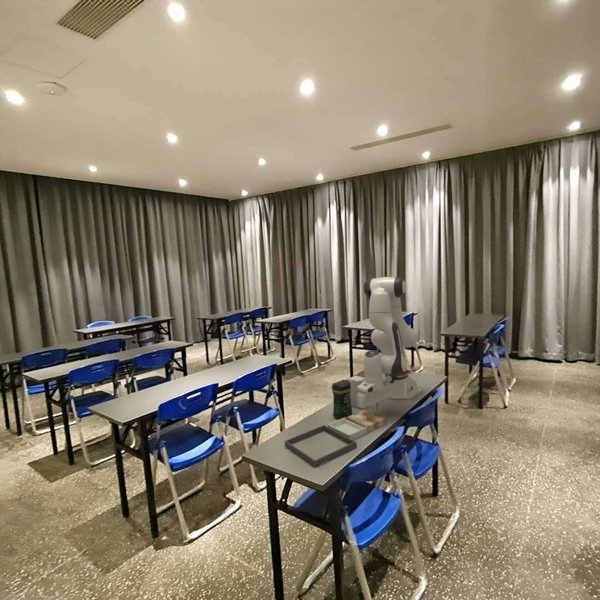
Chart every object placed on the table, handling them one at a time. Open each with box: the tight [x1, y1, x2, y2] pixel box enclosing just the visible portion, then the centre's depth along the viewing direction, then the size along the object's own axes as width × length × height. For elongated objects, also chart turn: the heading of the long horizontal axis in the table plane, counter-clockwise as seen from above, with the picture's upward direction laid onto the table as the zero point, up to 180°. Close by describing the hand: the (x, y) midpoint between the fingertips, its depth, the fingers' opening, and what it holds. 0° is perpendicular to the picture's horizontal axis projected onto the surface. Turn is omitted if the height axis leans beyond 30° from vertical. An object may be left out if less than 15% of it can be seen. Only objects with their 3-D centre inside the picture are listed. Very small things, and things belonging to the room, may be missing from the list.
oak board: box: [346, 409, 388, 434], centre depth 174 cm, size 13×14×3 cm
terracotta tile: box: [362, 410, 374, 420], centre depth 174 cm, size 4×4×2 cm
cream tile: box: [355, 414, 367, 422], centre depth 172 cm, size 4×4×2 cm
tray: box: [327, 418, 368, 441], centre depth 167 cm, size 11×15×3 cm
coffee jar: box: [331, 379, 353, 420], centre depth 183 cm, size 10×8×19 cm
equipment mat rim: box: [284, 424, 358, 468], centre depth 156 cm, size 22×22×2 cm
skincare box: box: [347, 375, 365, 410], centre depth 195 cm, size 8×7×16 cm
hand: (375, 411), depth 178 cm, fingers closed
